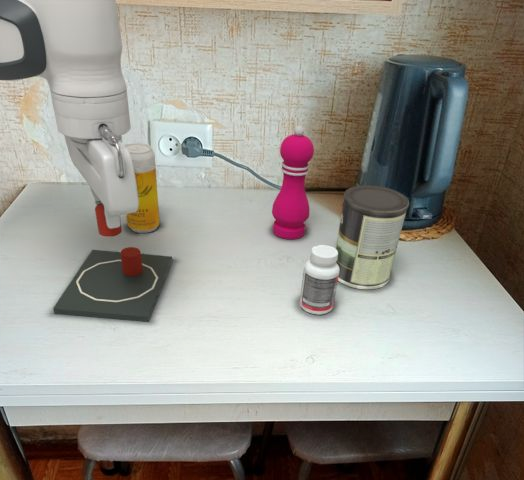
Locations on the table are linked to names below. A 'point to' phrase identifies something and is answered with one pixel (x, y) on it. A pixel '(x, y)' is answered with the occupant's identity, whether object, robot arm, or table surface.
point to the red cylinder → (131, 261)
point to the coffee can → (369, 235)
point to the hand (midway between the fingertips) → (108, 219)
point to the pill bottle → (320, 280)
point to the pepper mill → (293, 186)
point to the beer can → (144, 189)
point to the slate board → (114, 288)
